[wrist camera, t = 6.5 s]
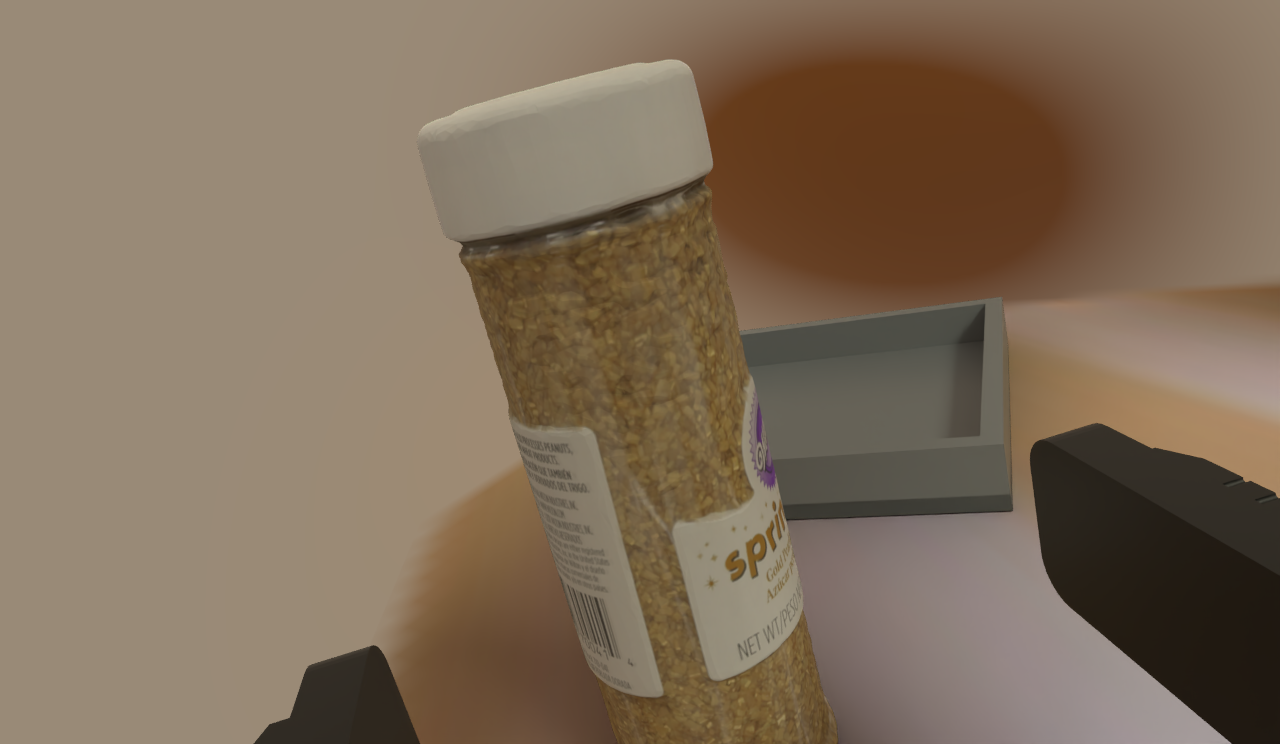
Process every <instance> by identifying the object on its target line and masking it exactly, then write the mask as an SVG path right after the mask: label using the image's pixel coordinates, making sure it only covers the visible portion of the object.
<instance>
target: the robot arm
mask: <svg viewBox="0 0 1280 744" xmlns="http://www.w3.org/2000/svg"><path fill="white" fill-rule="evenodd" d="M1030 466H1031V474H1032V482H1033V490H1034V498H1035V506H1036V514H1037V522H1038V530H1039V538H1040V546H1041V553H1042V559H1043V563H1044V566H1045V569H1046V572H1047V574H1048V576H1049V579H1050V581H1051V583H1052V584H1053V586H1054V588H1055V590H1056V591H1057V593H1058V594H1059V595H1060V597H1061V598H1062V599H1063V601H1064V602H1065V603H1066V604H1067V605H1068V606H1069V607H1070V608H1072V609H1073V610H1074V611H1075V612H1076V613H1078V614H1079V615H1080V616H1081V617H1082V618H1083V619H1085V620H1086V621H1087V622H1088V623H1089V624H1091V625H1092V626H1093V627H1094V628H1095V629H1096V630H1098V631H1099V632H1100V633H1101V634H1102V635H1104V636H1105V637H1106V638H1107V639H1108V640H1110V641H1111V642H1112V643H1113V644H1114V645H1115V646H1117V647H1118V648H1119V649H1120V650H1121V651H1123V652H1124V653H1125V654H1126V655H1127V656H1128V657H1130V658H1131V659H1132V660H1133V661H1134V662H1136V663H1137V664H1138V665H1139V666H1140V667H1142V668H1143V669H1144V670H1145V671H1146V672H1147V673H1149V674H1150V675H1151V676H1152V677H1153V678H1155V679H1156V680H1157V681H1158V682H1159V683H1161V684H1162V685H1163V686H1164V687H1165V688H1166V689H1168V690H1169V691H1170V692H1171V693H1172V694H1174V695H1175V696H1176V697H1177V698H1178V699H1179V700H1181V701H1182V702H1183V703H1184V704H1185V705H1187V706H1188V707H1189V708H1190V709H1191V710H1193V711H1194V712H1195V713H1196V714H1197V715H1198V716H1200V717H1201V718H1202V719H1203V720H1204V721H1206V722H1207V723H1208V724H1209V725H1210V726H1211V727H1213V728H1214V729H1215V730H1216V731H1217V732H1219V733H1220V734H1221V735H1222V736H1223V737H1225V738H1226V739H1227V740H1228V741H1229V742H1230V743H1232V744H1280V498H1278V497H1277V496H1276V493H1275V492H1273V491H1271V490H1268V489H1266V488H1264V487H1262V486H1260V485H1258V484H1256V483H1254V482H1252V481H1249V482H1245V481H1244V480H1243V477H1241V476H1239V475H1237V474H1235V473H1233V472H1231V471H1229V470H1227V469H1225V468H1222V467H1220V466H1218V465H1216V464H1214V463H1212V462H1210V461H1208V460H1206V459H1203V458H1199V457H1194V456H1190V455H1185V454H1181V453H1176V452H1171V451H1167V450H1162V449H1158V448H1153V449H1152V448H1150V447H1148V446H1146V445H1144V444H1142V443H1140V442H1138V441H1136V440H1134V439H1132V438H1130V437H1128V436H1126V435H1124V434H1122V433H1120V432H1118V431H1116V430H1114V429H1112V428H1110V427H1108V426H1105V425H1103V424H1098V423H1095V424H1091V425H1088V426H1084V427H1081V428H1078V429H1075V430H1071V431H1068V432H1065V433H1062V434H1059V435H1055V436H1052V437H1049V438H1046V439H1042V440H1039V441H1037V442H1036V443H1035V444H1034V445H1033V447H1032V449H1031V453H1030ZM254 744H420V743H419V740H418V738H417V735H416V733H415V730H414V728H413V725H412V722H411V720H410V717H409V715H408V712H407V710H406V707H405V705H404V702H403V700H402V697H401V695H400V692H399V690H398V687H397V685H396V682H395V680H394V677H393V675H392V672H391V670H390V667H389V665H388V663H387V660H386V658H385V656H384V654H383V653H382V651H381V650H380V649H379V648H378V647H377V646H374V645H373V646H370V647H366V648H363V649H360V650H357V651H354V652H351V653H347V654H344V655H341V656H337V657H334V658H331V659H328V660H325V661H321V662H318V663H315V664H312V665H310V666H308V668H307V669H306V672H305V674H304V677H303V680H302V683H301V686H300V689H299V692H298V695H297V698H296V701H295V704H294V707H293V710H292V713H291V716H290V718H288V719H285V720H282V721H279V722H276V723H272V724H270V725H269V726H268V727H267V728H266V729H265V731H264V732H263V733H262V734H261V735H260V737H259V738H258V739H257V740H256V742H255V743H254Z"/></svg>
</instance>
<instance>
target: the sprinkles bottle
mask: <svg viewBox="0 0 1280 744" xmlns="http://www.w3.org/2000/svg"><path fill="white" fill-rule="evenodd" d="M417 143H418V149H419V153H420V157H421V160H422V163H423V167H424V171H425V174H426V178H427V182H428V185H429V189H430V192H431V195H432V198H433V202H434V205H435V209H436V211H437V215H438V218H439V222H440V225H441V228H442V231H443V234H444V235H445V236H446V237H447V238H448V239H450V240H454V241H457V242H460V243H461V244H462V245H463V247H462V249H461V252H460V253H459V257H460V258H461V263H462V264H463V265H464V266H465V268H466V270H467V271H468V273H469V275H470V277H471V281H472V286H473V290H474V293H475V296H476V299H477V302H478V305H479V309H480V314H481V317H482V319H483V321H484V323H485V328H486V330H487V335H488V338H489V340H490V345H491V348H492V350H493V352H494V358H495V361H496V364H497V366H498V370H499V373H500V375H501V378H502V381H503V387H504V390H505V393H506V396H507V399H508V403H509V419H510V422H511V425H512V428H513V432H514V435H515V438H516V441H517V444H518V447H519V450H520V453H521V457H522V460H523V463H524V466H525V469H526V472H527V475H528V478H529V482H530V485H531V488H532V491H533V494H534V497H535V500H536V504H537V507H538V510H539V513H540V516H541V520H542V523H543V526H544V529H545V532H546V536H547V539H548V542H549V545H550V548H551V552H552V555H553V558H554V561H555V564H556V567H557V570H558V574H559V577H560V580H561V583H562V586H563V589H564V593H565V596H566V599H567V602H568V605H569V609H570V612H571V615H572V618H573V621H574V624H575V628H576V631H577V634H578V637H579V640H580V643H581V646H582V650H583V653H584V656H585V658H586V661H587V663H588V665H589V667H590V669H591V670H592V671H593V673H594V674H595V675H596V678H597V681H598V684H599V687H600V690H601V693H602V696H603V699H604V702H605V705H606V708H607V712H608V716H609V719H610V722H611V725H612V729H613V732H614V734H615V737H616V739H617V742H618V744H837V743H838V736H837V724H836V720H835V717H834V713H833V711H832V709H831V707H830V705H829V703H828V701H827V699H826V697H825V695H824V694H823V690H822V687H821V684H820V678H819V673H818V670H817V666H816V661H815V657H814V654H813V651H812V642H811V637H810V635H809V632H808V628H807V622H806V619H805V615H804V612H803V592H802V587H801V581H800V578H799V574H798V570H797V566H796V561H795V557H794V553H793V549H792V544H791V540H790V535H789V531H788V526H787V522H786V518H785V514H784V510H783V506H782V502H781V497H780V493H779V488H778V483H777V478H776V474H775V470H774V466H773V462H772V457H771V453H770V449H769V444H768V440H767V435H766V431H765V427H764V424H763V420H762V415H761V411H760V406H759V402H758V397H757V393H756V388H755V385H754V381H753V378H752V376H751V374H750V372H749V369H748V366H747V362H746V359H745V355H744V349H743V343H742V340H741V336H740V333H739V328H738V321H737V316H736V311H735V307H734V304H733V300H732V296H731V292H730V289H729V286H728V284H727V272H726V270H725V267H724V264H723V260H722V255H721V250H720V244H719V240H718V236H717V228H716V226H715V224H714V223H713V220H712V212H711V200H712V191H711V190H710V188H709V187H707V186H705V184H704V179H705V177H706V175H707V174H708V173H709V172H710V171H711V169H712V167H713V160H712V155H711V150H710V145H709V140H708V135H707V130H706V125H705V121H704V117H703V113H702V109H701V105H700V101H699V97H698V93H697V89H696V85H695V81H694V77H693V74H692V71H691V69H690V68H689V67H688V65H687V64H685V63H683V62H681V61H679V60H664V61H658V62H653V63H648V64H646V63H635V64H629V65H625V66H620V67H616V68H612V69H608V70H604V71H599V72H595V73H590V74H587V75H583V76H579V77H575V78H571V79H567V80H563V81H559V82H554V83H551V84H547V85H544V86H541V87H537V88H533V89H529V90H525V91H521V92H517V93H513V94H510V95H506V96H503V97H500V98H496V99H492V100H489V101H486V102H482V103H479V104H475V105H472V106H468V107H465V108H463V109H460V110H458V111H456V112H455V113H454V114H453V115H450V116H447V117H443V118H440V119H438V120H435V121H432V122H430V123H428V124H426V125H425V126H424V127H423V128H422V129H421V130H420V132H419V135H418V139H417Z"/></svg>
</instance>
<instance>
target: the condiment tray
mask: <svg viewBox="0 0 1280 744" xmlns="http://www.w3.org/2000/svg"><path fill="white" fill-rule="evenodd" d="M739 333H740V336H741V340H742V343H743V349H744V355H745V359H746V362H747V366H748V369H749V372H750V374H751V376H752V378H753V381H754V385H755V388H756V393H757V397H758V402H759V406H760V411H761V415H762V420H763V424H764V427H765V431H766V435H767V440H768V444H769V449H770V453H771V457H772V462H773V466H774V470H775V474H776V478H777V483H778V488H779V493H780V497H781V502H782V506H783V510H784V514H785V518H786V520H788V519H813V518H838V517H863V516H889V515H914V514H939V513H964V512H989V511H1013V504H1012V467H1011V430H1010V393H1009V355H1008V339H1007V331H1006V324H1005V316H1004V308H1003V300H1002V297H997V298H990V299H983V300H974V301H967V302H959V303H951V304H943V305H936V306H928V307H920V308H914V309H906V310H897V311H890V312H882V313H874V314H867V315H859V316H851V317H844V318H836V319H828V320H821V321H814V322H806V323H798V324H790V325H783V326H775V327H767V328H759V329H752V330H744V331H739Z"/></svg>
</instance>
